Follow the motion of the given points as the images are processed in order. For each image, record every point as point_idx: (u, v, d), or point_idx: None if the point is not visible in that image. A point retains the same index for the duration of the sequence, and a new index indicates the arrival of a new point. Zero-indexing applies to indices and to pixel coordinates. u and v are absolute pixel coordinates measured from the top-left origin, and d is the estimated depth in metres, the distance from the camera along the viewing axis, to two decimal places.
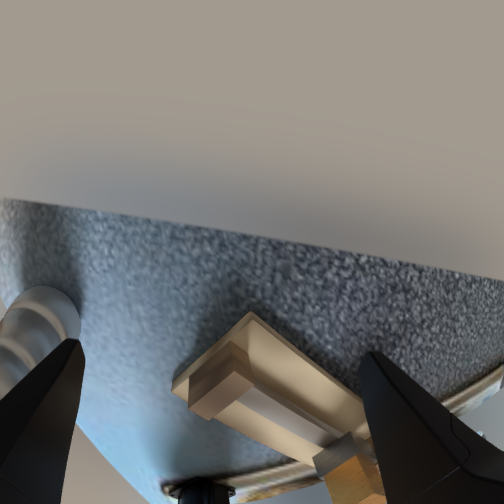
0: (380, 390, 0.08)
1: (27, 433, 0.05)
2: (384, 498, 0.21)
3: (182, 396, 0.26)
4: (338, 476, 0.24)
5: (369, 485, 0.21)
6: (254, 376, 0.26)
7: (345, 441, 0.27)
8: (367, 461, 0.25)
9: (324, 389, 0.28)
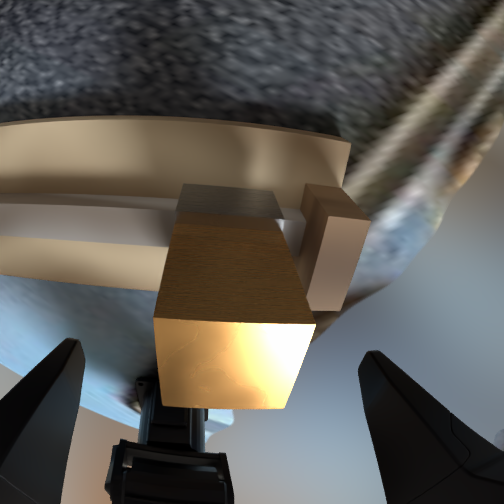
0: (380, 390, 0.08)
1: (27, 433, 0.05)
2: (264, 332, 0.08)
3: None
4: None
5: (158, 292, 0.08)
6: None
7: None
8: (235, 230, 0.12)
9: (82, 140, 0.14)
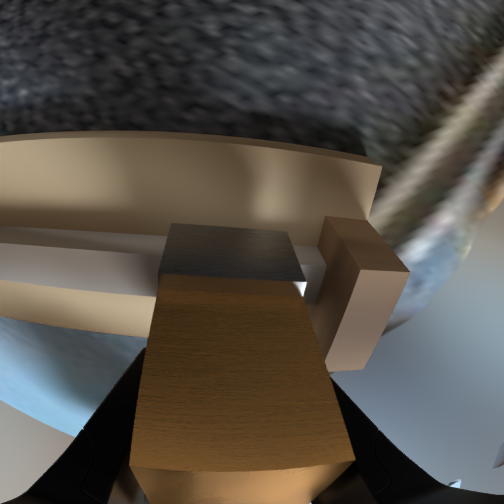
0: None
1: (127, 455, 0.05)
2: (285, 474, 0.05)
3: None
4: None
5: (135, 418, 0.05)
6: None
7: None
8: (240, 299, 0.09)
9: (48, 164, 0.11)
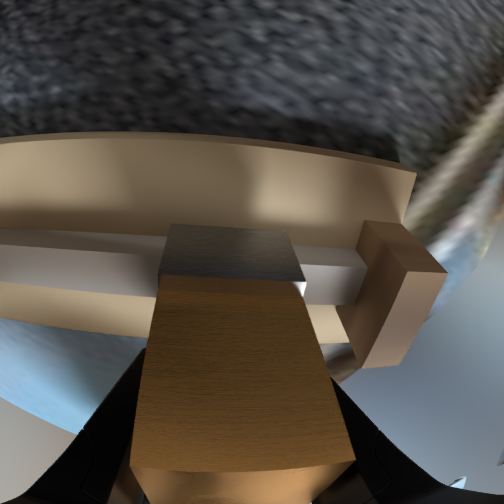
0: None
1: (127, 455, 0.05)
2: (286, 474, 0.05)
3: None
4: None
5: (135, 419, 0.05)
6: None
7: None
8: (240, 299, 0.09)
9: (88, 165, 0.11)
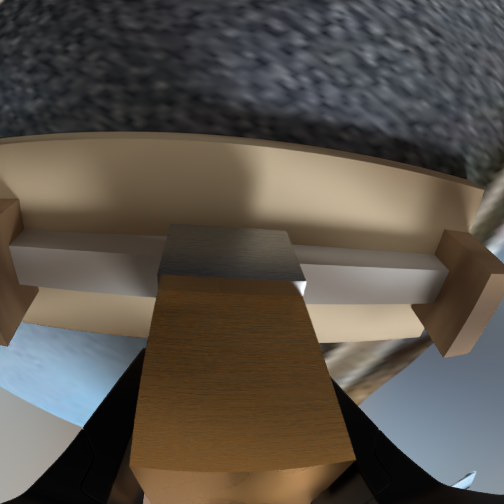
0: None
1: (127, 455, 0.05)
2: (286, 474, 0.05)
3: (35, 321, 0.15)
4: None
5: (135, 419, 0.05)
6: (61, 228, 0.12)
7: None
8: (240, 299, 0.09)
9: (209, 169, 0.12)
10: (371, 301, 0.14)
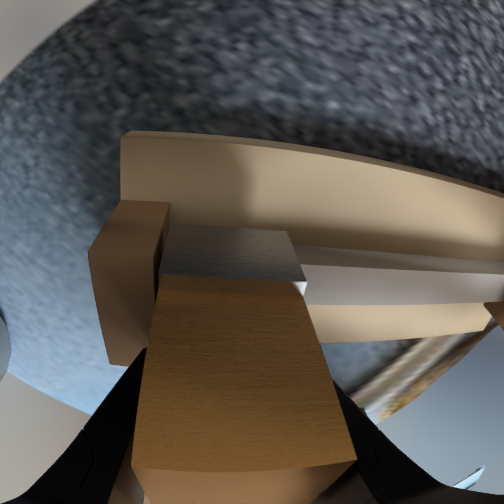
0: None
1: (127, 455, 0.05)
2: (287, 474, 0.05)
3: None
4: None
5: (136, 420, 0.05)
6: None
7: None
8: (241, 299, 0.09)
9: (379, 190, 0.13)
10: (470, 300, 0.15)
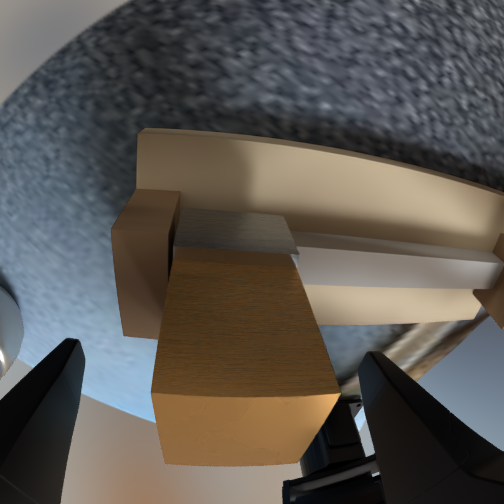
0: (380, 390, 0.08)
1: (27, 433, 0.05)
2: (281, 404, 0.06)
3: None
4: None
5: (156, 357, 0.07)
6: None
7: None
8: (243, 268, 0.10)
9: (367, 181, 0.14)
10: (457, 286, 0.17)
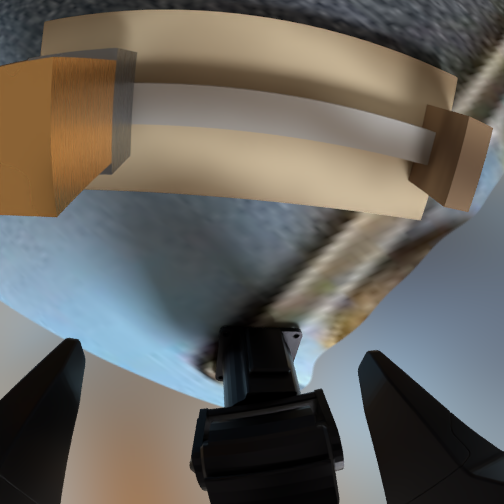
0: (380, 390, 0.08)
1: (27, 433, 0.05)
2: (9, 75, 0.05)
3: None
4: None
5: None
6: None
7: None
8: None
9: (233, 32, 0.13)
10: (369, 147, 0.15)
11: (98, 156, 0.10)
